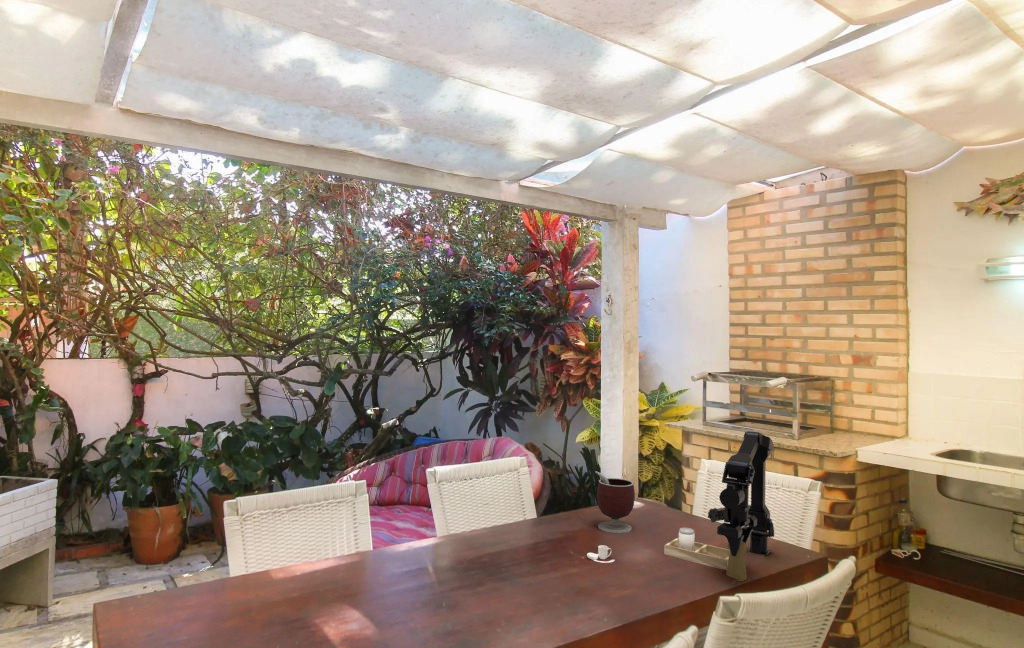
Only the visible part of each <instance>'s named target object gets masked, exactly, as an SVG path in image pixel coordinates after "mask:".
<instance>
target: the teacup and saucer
mask: <svg viewBox="0 0 1024 648" xmlns="http://www.w3.org/2000/svg"><path fill="white" fill-rule="evenodd" d="M597 549H598V550H597V553H594V552H588V553H587V554H586V557H587V558H588V559H590V560H592V561H594V562H596V563H604V564H608V563H613V562H615V561H616V558H613V557H610V555H611V554H612V549H611V548H610V547H609V546H607V545H605V544H604V545H602V544H601V545H598V546H597ZM609 550H610V552H608V551H609ZM608 553H609V554H608ZM608 557H610V559H611V560H608V561H601V560H606V559H608ZM598 559H600V560H598Z"/></svg>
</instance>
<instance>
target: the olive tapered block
mask: <svg viewBox="0 0 1024 648" xmlns="http://www.w3.org/2000/svg"><path fill="white" fill-rule="evenodd" d="M727 548H728V550H730V547H729V543H728V542H727ZM746 550H747V543H746V544H745V542H743V541H742V542H741V545H740V547H739V550H738V552H737V555H736V556H732V554H731V550H730V553H729V559H728V566H727V570H726V573H725V574H726V576H727V577H729V578H732V579H735V582H744V580H745V581H747V580H748V577H747V566H746V557H745V553H746V552H747V551H746ZM746 579H747V580H746Z"/></svg>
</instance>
